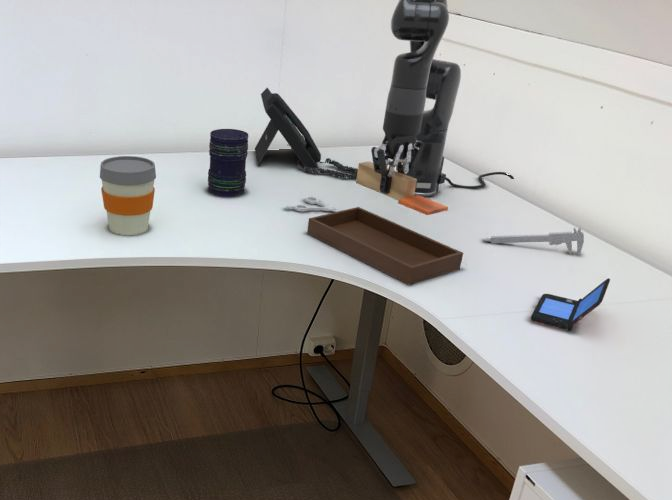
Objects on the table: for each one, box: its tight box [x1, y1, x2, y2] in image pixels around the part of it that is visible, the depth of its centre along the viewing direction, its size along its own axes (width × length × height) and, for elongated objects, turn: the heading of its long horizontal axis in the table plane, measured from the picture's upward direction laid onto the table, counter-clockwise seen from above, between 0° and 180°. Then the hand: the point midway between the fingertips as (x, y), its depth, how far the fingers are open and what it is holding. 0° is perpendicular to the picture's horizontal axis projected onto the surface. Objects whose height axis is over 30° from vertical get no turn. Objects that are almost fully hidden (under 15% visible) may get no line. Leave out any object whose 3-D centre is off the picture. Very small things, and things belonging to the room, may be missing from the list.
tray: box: [306, 206, 464, 286], centre depth 175 cm, size 16×32×4 cm, turn 34°
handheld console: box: [530, 277, 611, 332], centre depth 149 cm, size 12×11×7 cm
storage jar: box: [207, 128, 249, 198], centre depth 203 cm, size 10×10×15 cm
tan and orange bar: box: [355, 160, 449, 216], centre depth 167 cm, size 6×22×4 cm, turn 34°
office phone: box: [254, 87, 358, 180], centre depth 225 cm, size 29×28×20 cm
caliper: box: [484, 226, 585, 255], centre depth 178 cm, size 20×1×6 cm, turn 72°
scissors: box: [285, 196, 344, 213], centre depth 196 cm, size 11×1×20 cm
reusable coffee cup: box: [99, 155, 157, 236], centre depth 179 cm, size 13×13×15 cm
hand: (391, 190), depth 169 cm, fingers closed on tan and orange bar, 3 cm apart
